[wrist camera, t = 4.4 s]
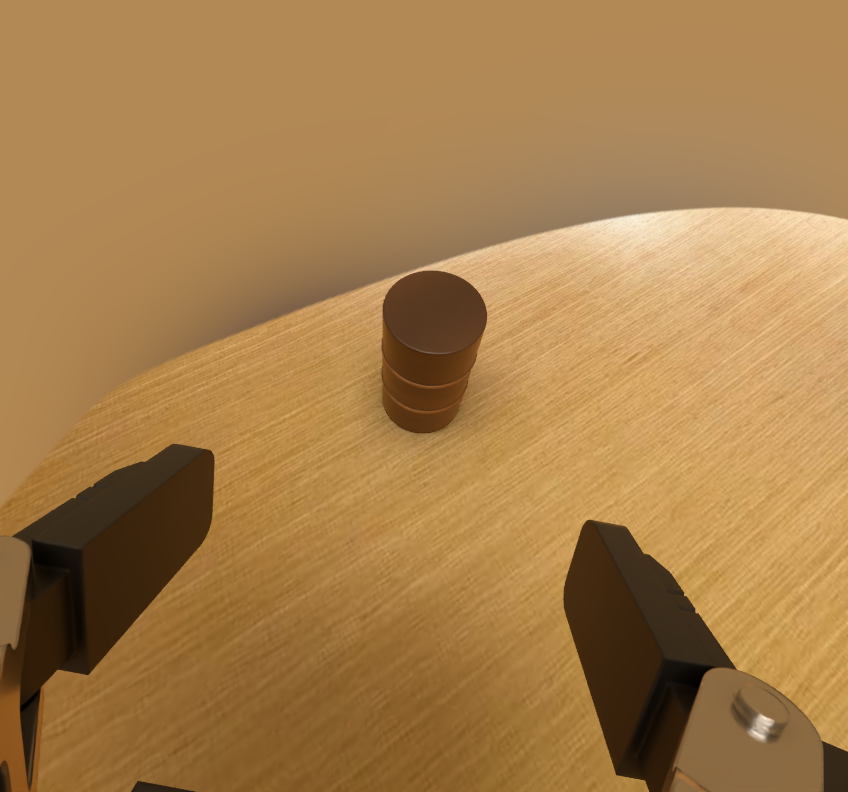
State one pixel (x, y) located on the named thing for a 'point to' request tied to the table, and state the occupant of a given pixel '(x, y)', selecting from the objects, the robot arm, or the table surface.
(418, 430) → the brown ridged cylinder
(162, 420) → the table surface
